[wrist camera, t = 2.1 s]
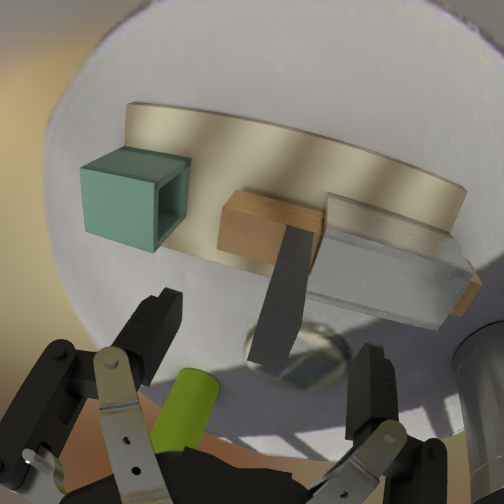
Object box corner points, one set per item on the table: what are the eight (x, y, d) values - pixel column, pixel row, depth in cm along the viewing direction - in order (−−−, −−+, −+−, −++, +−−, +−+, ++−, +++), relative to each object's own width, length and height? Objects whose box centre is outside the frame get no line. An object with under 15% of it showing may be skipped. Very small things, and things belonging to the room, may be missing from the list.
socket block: (191, 158, 21) (154, 183, 17) (186, 217, 24) (153, 253, 20) (124, 146, 22) (79, 167, 18) (124, 201, 25) (85, 231, 20)
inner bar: (468, 260, 19) (520, 370, 10) (450, 291, 20) (487, 403, 12) (235, 189, 20) (164, 285, 12) (229, 227, 22) (165, 333, 13)
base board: (462, 186, 18) (467, 191, 18) (402, 306, 25) (404, 313, 24) (133, 102, 21) (126, 104, 20) (131, 230, 28) (126, 235, 27)
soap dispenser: (206, 363, 36) (144, 508, 20) (226, 394, 39) (179, 523, 23) (168, 362, 38) (103, 490, 22) (190, 391, 41) (139, 509, 25)
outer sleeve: (449, 232, 20) (474, 274, 15) (422, 283, 22) (436, 331, 18) (327, 191, 21) (326, 227, 16) (309, 250, 23) (302, 297, 19)
